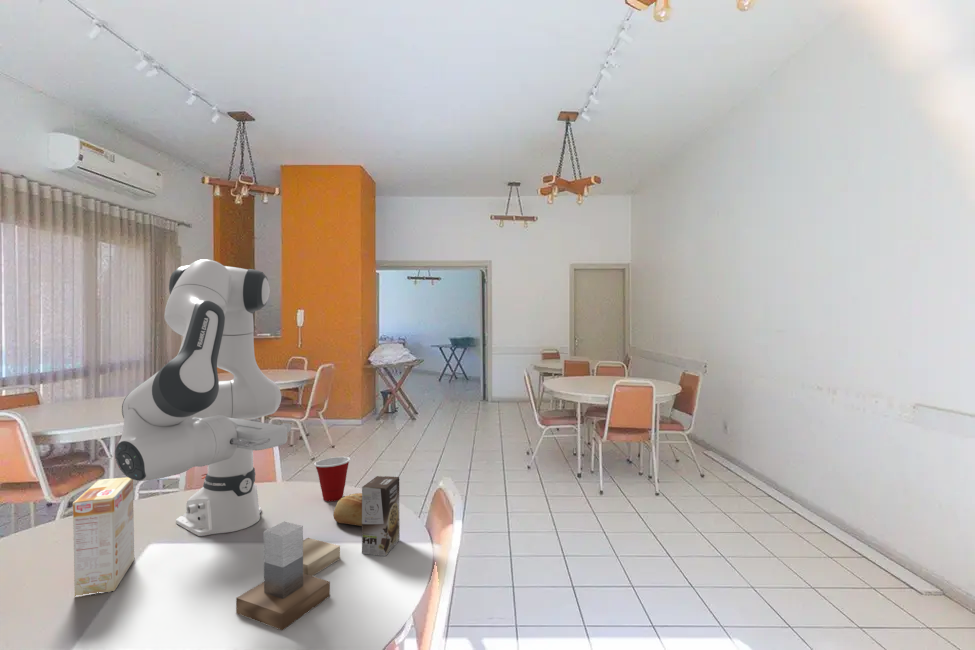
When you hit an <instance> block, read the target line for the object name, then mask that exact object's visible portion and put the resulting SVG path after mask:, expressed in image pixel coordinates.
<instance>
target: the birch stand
mask: <svg viewBox="0 0 975 650" xmlns="http://www.w3.org/2000/svg"><path fill="white" fill-rule="evenodd" d="M340 559H341V545H338V544H334V543H330V542H326V541H323V540H318V539H314V538H310V537H307V538H305V539H303V574H306V575H309V576H313V577H314V576H315V575H317V574H318V573H320V572H321V571H324V569H326V568H327V567H330V565H332V564H334V563H335V562H337V561H338V560H340Z"/></svg>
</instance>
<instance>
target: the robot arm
mask: <svg viewBox="0 0 975 650" xmlns="http://www.w3.org/2000/svg"><path fill="white" fill-rule="evenodd" d="M169 278H170V279H169V282H168V283H169V284H168V290H169V296H168V299H167V301H166V305H165V309H164V321H165V323H166V325H168V327H169V328H170V329H171V330H172V331H173V332H175V333H176V334H177V335H180V336H182V341H181V344H180V347H179V351H178V353H177V355H175V357H174V358H172V359H171V360H170V361H168V362H167V363H166V364H165V365H164V366H162V367H161V368H160V369H159V370H158V371H157V372H155V373H154V374H153V375H152V376H150V377H148V379H146V380H145V381H143V382H142V383H140V385H138V386H137V387H135V388H134V389H133V390H132V391H130V392H129V393H128V394H127V395H126V396H125V398H124V400H123V402H122V405H121V414H122V417H123V428H122V434H121V436H120V440H119V441H118V443H117V444H116V447H115V451H114V457H115V462H116V464H117V466H118V468H119V470H120V471H121V472H122V473H123V475H124V476H125V477H129V478H130V479H133V481H140V482H146V481H147V482H148V481H154V480H160V479H164V478H169V477H173V476H176V475H178V474H182V473H185V472H187V471H189V470H190V469H192V468H196V467H197V468H198V467H201V468H202V467H206V466H207V473H204V474H201V476H200V477H201V480H203V479H204V481H203V484H202V487H201V488H200V489H199V490H198V491H196V492H195V493H194V494H192V495H191V496H190V497H189V498H188V499H187V501H186V508H185V513H183V514H181V515H180V516H179V517H177V518H176V519H175V524H176V525H178V526H180V527H182V528H184V529H185V530H188V531H189V532H191V533H193V534H194V535H196V536H198V537H204V536H209V535H215V534H225V533H231V532H237V531H240V530H244V529H246V528H249V527H251V526H253V525H255V524H256V523H258V522H259V521H260V519H261V515H260V514H261V513H262V511H263V510H262V507H261V506H260V503H259V496H258V487H257V485H256V483H255V481H256V469H255V467H254V451H263V450H268V449H271V448H276V447H279V446H280V447H281V446H283V445H285V444H287V441H288V433H289V432H291V431H292V424H291V423H289V422H283V423H279V424H275V423H268V422H261V419H259V418H263V417H266V416H271V415H273V414H275V413H276V412H277V411H278V409H279V407H280V405H281V401H282V392H281V390H280V387H279V385H278V384H277V383H276V382H275V381H274V380H272V379H270V378H269V377H268V376H267V375H265V374H264V373H263V372H262V370H261V369H260V367H259V366H258V364H257V361H256V360H257V359H256V356H255V355H256V354H255V344H254V342H255V341H254V340H255V339H254V337H255V336H254V335H255V333H254V331H255V330H254V329H255V327H254V326H255V325H254V314H255V312H257V311H261V310H262V309H263V308H264V307H265V306H266V305H267V302H268V300H269V297H270V294H271V288H270V284H269V279H268V277H267V275H266V274H265V273H264V272H263V271H260V270H257V269H253V268H248V269H247V268H243V267H242V268H241V267H235V266H229V265H228V266H227V265H223V264H222V263H221V262H219V261H216V260H212V259H199V260H195V261H193V262H192V263H190V264H189V265H188V264H187V265H181V266H179V267H177V268H176V269H175V270H173V272H172V274H171V275H170V277H169ZM218 369H220V370H223V371H226V372H228V373H230V374H232V375H233V379H231V380H220V379H219V373H218Z"/></svg>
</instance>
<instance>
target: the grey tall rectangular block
mask: <svg viewBox="0 0 975 650" xmlns="http://www.w3.org/2000/svg"><path fill="white" fill-rule="evenodd" d="M303 527H304V526H303V525H300V524H297V523H292V522H288V521H282V522H280V523H278V524H276V525H274V526H272V527H270V528H267V529H265V530H264V531H263V582H264V593H266V594H269V595H272V596H275V597H278V598H281V599H284V598H286V597H287V596H289V595H290V594H292V593H293V592H295V591H296V590H298V589H299V588H301V587H302V586H303V540H304V528H303Z"/></svg>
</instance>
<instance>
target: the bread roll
mask: <svg viewBox="0 0 975 650" xmlns="http://www.w3.org/2000/svg"><path fill="white" fill-rule="evenodd" d="M333 519H334V521H335V522H337V523H338V524H343V525H344V524H346V525H351V526H353V525H354V526H360V527H362V492H358V493H350V494H349V495H345V496H343V497H342V498H341V499H340V500H338V501H336V505H335V507H334V510H333Z"/></svg>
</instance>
